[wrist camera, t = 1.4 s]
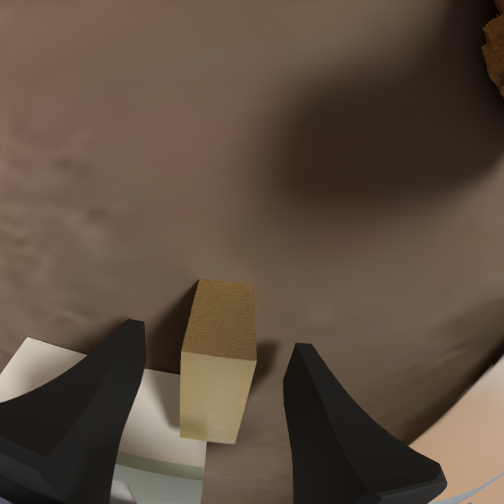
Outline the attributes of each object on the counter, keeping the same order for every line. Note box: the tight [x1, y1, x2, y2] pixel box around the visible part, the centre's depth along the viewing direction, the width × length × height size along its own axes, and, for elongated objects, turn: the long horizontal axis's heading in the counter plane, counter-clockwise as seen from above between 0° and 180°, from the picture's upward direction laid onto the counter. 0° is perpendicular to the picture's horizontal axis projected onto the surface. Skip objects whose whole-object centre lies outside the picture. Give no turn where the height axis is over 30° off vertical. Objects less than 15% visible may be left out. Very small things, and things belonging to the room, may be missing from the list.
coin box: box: [0, 337, 207, 504], centre depth 13 cm, size 12×10×5 cm
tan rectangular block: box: [180, 279, 257, 444], centre depth 11 cm, size 4×2×4 cm, turn 171°
